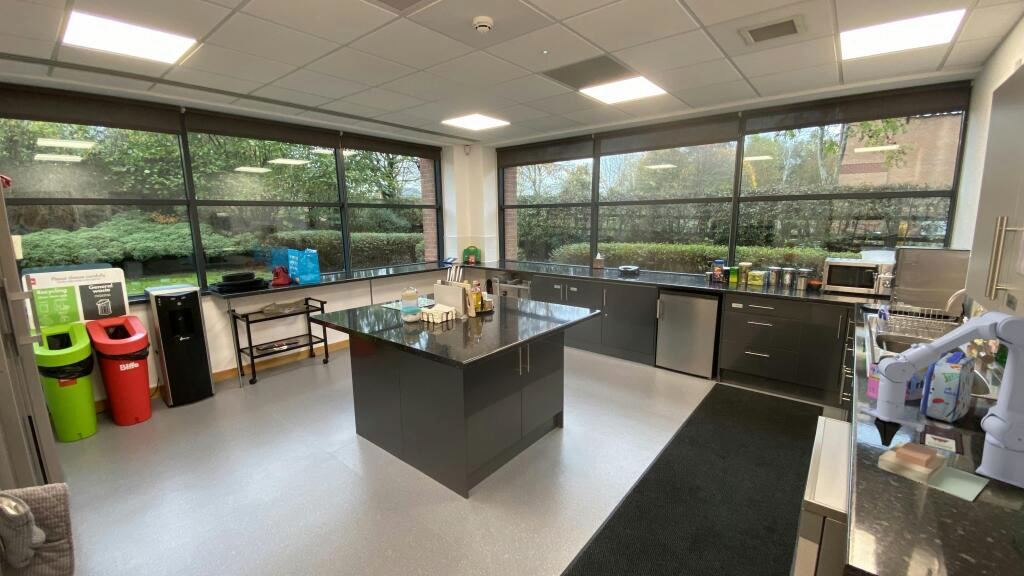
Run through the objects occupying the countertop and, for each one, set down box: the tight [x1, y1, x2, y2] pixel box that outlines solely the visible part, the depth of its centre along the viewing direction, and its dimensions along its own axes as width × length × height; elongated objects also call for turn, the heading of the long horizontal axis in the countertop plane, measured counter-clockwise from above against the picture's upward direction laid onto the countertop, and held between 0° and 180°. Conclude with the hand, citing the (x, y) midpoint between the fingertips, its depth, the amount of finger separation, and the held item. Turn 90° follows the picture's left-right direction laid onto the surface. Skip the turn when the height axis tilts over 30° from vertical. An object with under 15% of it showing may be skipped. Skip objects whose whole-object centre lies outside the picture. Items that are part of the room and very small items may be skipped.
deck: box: [877, 441, 949, 486], centre depth 116 cm, size 10×16×3 cm, turn 121°
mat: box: [926, 465, 990, 503], centre depth 108 cm, size 8×16×1 cm, turn 121°
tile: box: [895, 441, 938, 468], centre depth 115 cm, size 6×9×2 cm, turn 121°
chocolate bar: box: [918, 423, 963, 456], centre depth 131 cm, size 9×1×18 cm
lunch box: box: [919, 351, 976, 423], centre depth 147 cm, size 28×10×22 cm, turn 126°
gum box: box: [866, 361, 929, 402], centre depth 164 cm, size 24×8×14 cm, turn 102°
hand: (886, 445), depth 121 cm, fingers closed
